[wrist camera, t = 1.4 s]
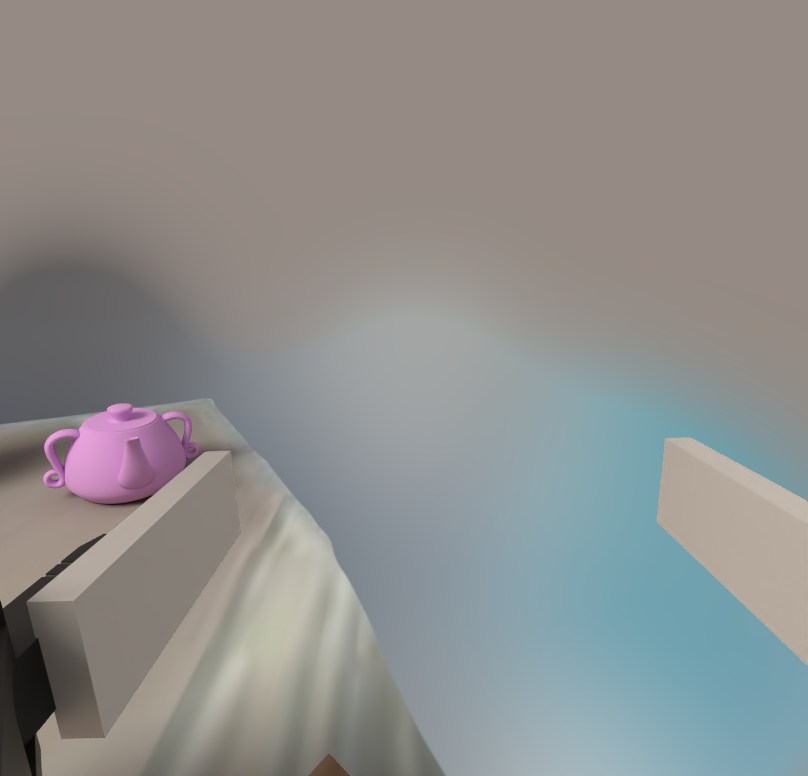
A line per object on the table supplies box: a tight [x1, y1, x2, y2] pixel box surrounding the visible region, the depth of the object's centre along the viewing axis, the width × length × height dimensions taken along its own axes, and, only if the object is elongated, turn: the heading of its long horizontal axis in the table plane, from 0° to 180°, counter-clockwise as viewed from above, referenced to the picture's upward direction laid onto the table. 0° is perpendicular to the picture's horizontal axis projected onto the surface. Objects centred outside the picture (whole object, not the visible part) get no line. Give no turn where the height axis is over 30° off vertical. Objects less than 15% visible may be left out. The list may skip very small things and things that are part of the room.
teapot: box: [43, 404, 199, 504], centre depth 72 cm, size 22×22×14 cm
